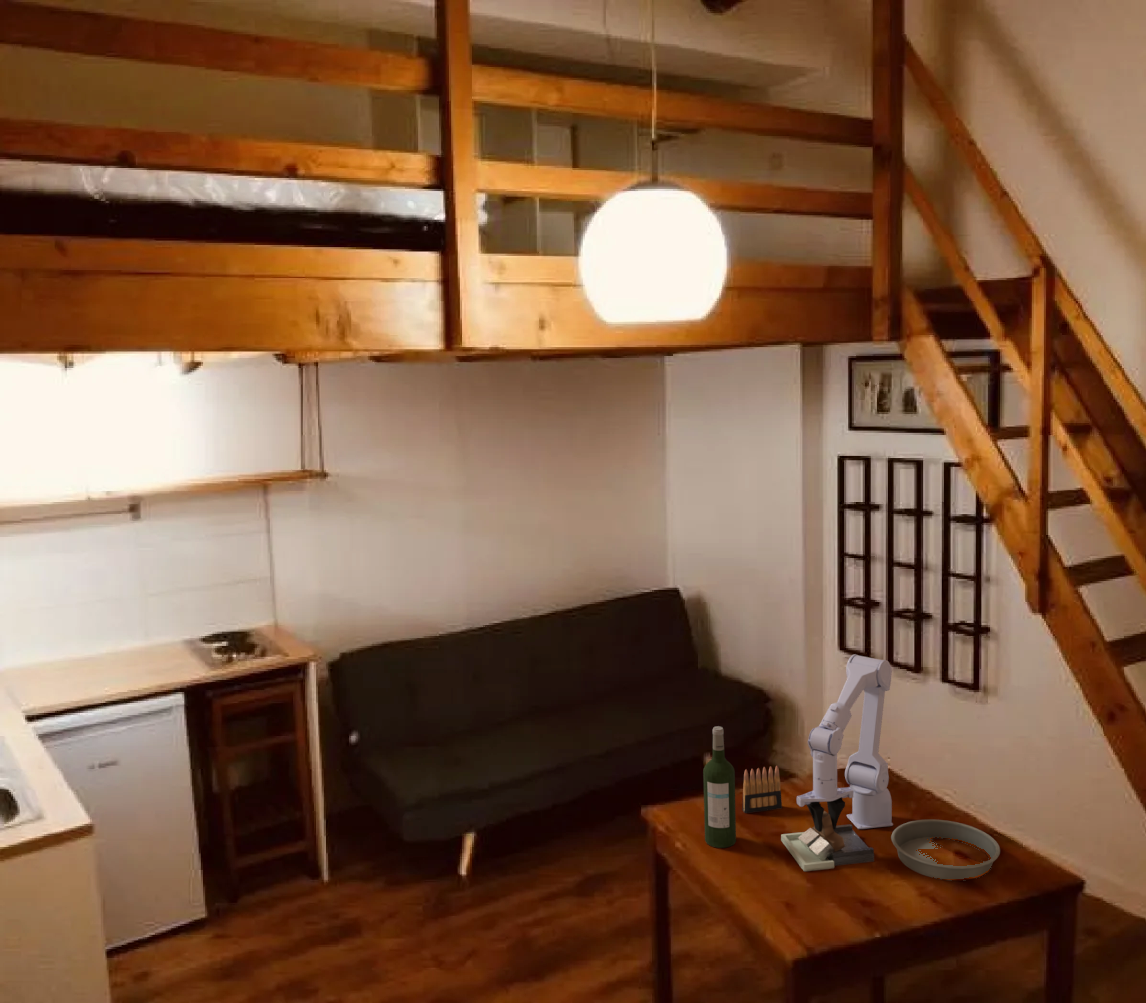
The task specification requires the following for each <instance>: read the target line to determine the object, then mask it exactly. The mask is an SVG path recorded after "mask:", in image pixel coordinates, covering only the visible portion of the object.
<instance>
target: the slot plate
mask: <svg viewBox="0 0 1146 1003" xmlns="http://www.w3.org/2000/svg"><path fill="white" fill-rule="evenodd" d="M811 829H813V828H811ZM833 830H834V832H836V833H837V834H838V835H840V836H841V837H842V838H843V840H844V845H845V847H844V848H842V849H840V850H838V851H833V852H832V853H831V854H830V855H829V856H828V857H827V858H828V859H829V861H830V860H833V861H834V867H835V866H844V865H846V866H847V865H854V864H862V863H871V862H872V863H873V862H875V849H874V848H873V847H871V846H870V847H869V846H868V845H867V844H866V843H865V842H864V841H863V839H862V838H860V836H859V835H858V834H857V833H856V832H855V830H854V829H853V825H852V824H851V823H850V824H841V825H836V829H833Z"/></svg>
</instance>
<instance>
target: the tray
mask: <svg viewBox="0 0 1146 1003" xmlns="http://www.w3.org/2000/svg"><path fill="white" fill-rule="evenodd" d="M804 832H805V831H802V832H801V831H800V832H792V833H783V834H780V841H781V842H782V844H783V845H784V846H785V847H786V849H787V851H788V852H789V853H790V854H791V855H792V857H793V858H794V860H795V862H796V863H797V864H798V865H799V867H800V868H801V869H802V870H803V872H811V871H821V870H829V869H835V866H834V861H833V860H830V861H829V859H828V858H826V859H825V860H824V861H821V860H820V859H819V858H818V857H817V856H815V855H814V854H813V852H810V851H809V850H808V849H807V848H805V847H804V846H803V845H802V844H801V842H800V840H799V838H798V837H799V836H800V835H802V834H803V833H804Z"/></svg>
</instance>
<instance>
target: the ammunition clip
mask: <svg viewBox="0 0 1146 1003" xmlns="http://www.w3.org/2000/svg"><path fill="white" fill-rule="evenodd" d="M749 775H750V776H749ZM742 786H743V791H742V809H741V810H742V811H743V813H744V814H750V813H757V812H758V813H759V812H765V811H774V810H780V809H781V810H782V808H783V805H782V804H783V803H782V802H783V801H782V790H781V779H780V770H779V766H778V765H776V766H775V769H774V771H773V767H772V766H769V769H768V774H767V769H766V767H765V766H763V768H762V774H761V770H760V768H759V767H758V768H757V769H756V774H755V771H754V769H753V768H751V770H750V774H749V773H748V770H747V768H746V769H745V770H744V774H743V785H742Z"/></svg>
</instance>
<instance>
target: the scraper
mask: <svg viewBox="0 0 1146 1003" xmlns="http://www.w3.org/2000/svg"><path fill="white" fill-rule="evenodd" d="M812 828H813V830H814V831H815V832H816V833H818V834H819V835H820V836H821V837H822V838H823V839H824V840H826V841H827V842H828V843H829V844H830V845H831V846H832V848H833V849H834V851H838V850H840V849H842V848H844V847H845V845H844V840H843V838H842V837H841V836H840V835H838V834H837V833H836V832H834V830H833V826H832V821H831V817H830V815H829V814H828V812H827V811H825V810H824V812H823V817H822V832H818V831H817V830H816V829H815V825H814V826H812ZM812 828H811V829H812Z"/></svg>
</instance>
